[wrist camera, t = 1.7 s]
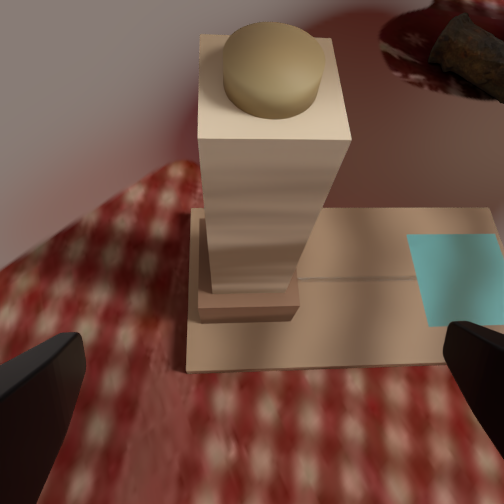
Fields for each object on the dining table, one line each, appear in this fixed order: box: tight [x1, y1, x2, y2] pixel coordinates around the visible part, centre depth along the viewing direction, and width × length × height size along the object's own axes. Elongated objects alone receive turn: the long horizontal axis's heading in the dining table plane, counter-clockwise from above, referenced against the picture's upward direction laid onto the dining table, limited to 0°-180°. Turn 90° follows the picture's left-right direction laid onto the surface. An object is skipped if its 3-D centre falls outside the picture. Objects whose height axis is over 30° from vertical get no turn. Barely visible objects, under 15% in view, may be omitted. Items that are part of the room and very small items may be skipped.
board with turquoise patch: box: [186, 208, 504, 374], centre depth 23 cm, size 20×10×1 cm, turn 92°
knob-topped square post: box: [198, 22, 352, 324], centre depth 15 cm, size 5×5×15 cm
